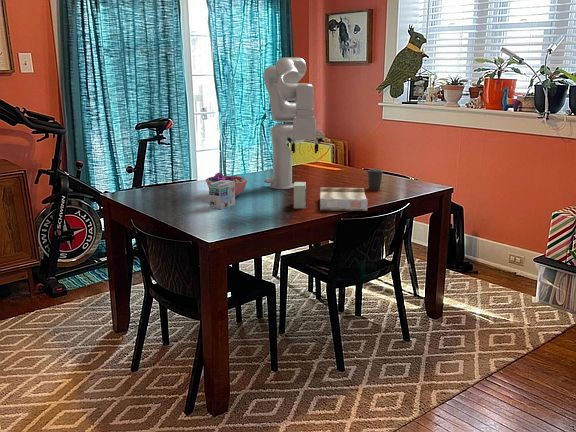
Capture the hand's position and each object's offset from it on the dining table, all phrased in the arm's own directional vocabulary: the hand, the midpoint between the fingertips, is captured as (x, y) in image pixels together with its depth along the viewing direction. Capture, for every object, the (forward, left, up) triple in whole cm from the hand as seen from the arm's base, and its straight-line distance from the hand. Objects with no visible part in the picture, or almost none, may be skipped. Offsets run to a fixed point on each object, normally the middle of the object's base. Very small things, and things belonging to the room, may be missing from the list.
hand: (304, 153), depth 252 cm
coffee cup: (+34, +32, -23) cm, 52 cm away
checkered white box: (+17, -1, -23) cm, 29 cm away
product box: (-2, -4, -23) cm, 23 cm away
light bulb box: (-36, -6, -23) cm, 43 cm away
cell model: (-37, +12, -23) cm, 45 cm away
